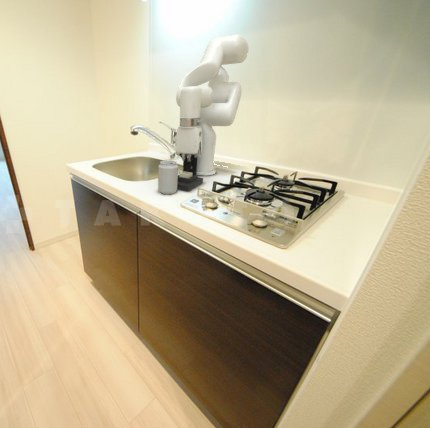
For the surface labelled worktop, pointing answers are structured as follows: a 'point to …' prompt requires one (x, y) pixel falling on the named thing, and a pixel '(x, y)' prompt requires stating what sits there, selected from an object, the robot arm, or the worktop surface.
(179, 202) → the worktop surface
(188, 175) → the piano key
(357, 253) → the worktop surface
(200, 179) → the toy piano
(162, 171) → the can
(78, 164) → the worktop surface
